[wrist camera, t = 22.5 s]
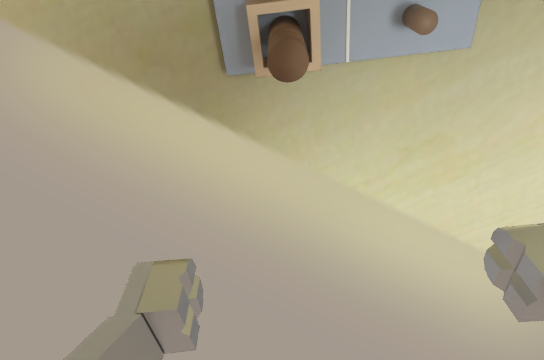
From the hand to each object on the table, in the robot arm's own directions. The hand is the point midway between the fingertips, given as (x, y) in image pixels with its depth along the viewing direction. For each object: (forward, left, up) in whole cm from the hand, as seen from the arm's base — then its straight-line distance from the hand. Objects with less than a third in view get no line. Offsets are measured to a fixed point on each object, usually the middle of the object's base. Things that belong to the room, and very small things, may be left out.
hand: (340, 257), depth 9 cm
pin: (0, 0, -28) cm, 28 cm away
